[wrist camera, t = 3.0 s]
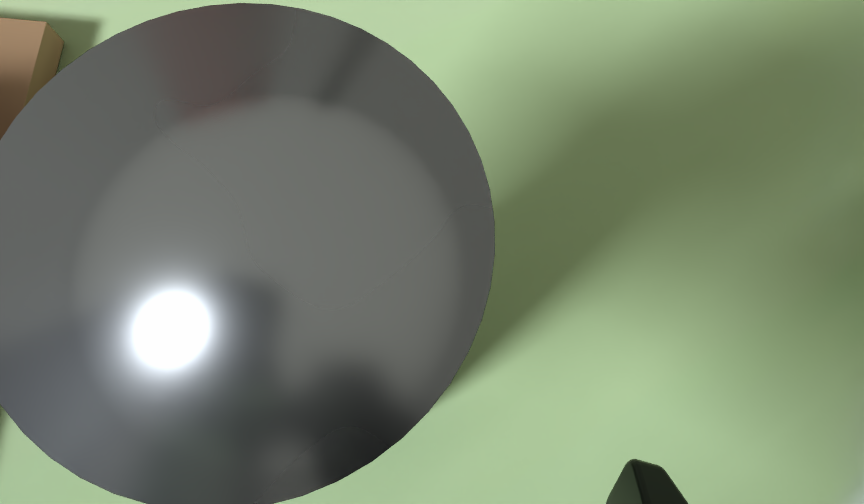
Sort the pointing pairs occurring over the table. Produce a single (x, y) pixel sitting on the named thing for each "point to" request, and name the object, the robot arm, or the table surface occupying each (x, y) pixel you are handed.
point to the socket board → (25, 64)
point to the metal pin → (236, 255)
